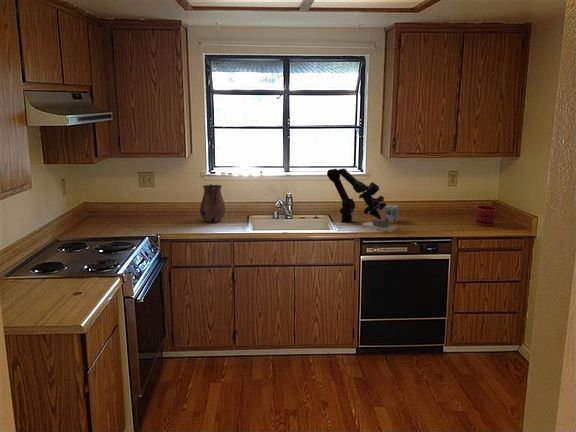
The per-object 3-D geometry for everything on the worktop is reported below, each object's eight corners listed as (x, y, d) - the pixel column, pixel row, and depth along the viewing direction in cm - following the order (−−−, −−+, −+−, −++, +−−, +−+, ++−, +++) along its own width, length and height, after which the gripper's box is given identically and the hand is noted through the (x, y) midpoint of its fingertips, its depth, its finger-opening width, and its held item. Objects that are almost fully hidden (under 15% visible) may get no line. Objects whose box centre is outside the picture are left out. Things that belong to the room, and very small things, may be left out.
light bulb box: (392, 223, 338) (392, 208, 336) (383, 222, 342) (383, 206, 340) (398, 220, 347) (399, 205, 344) (389, 219, 351) (390, 204, 348)
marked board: (361, 226, 331) (362, 224, 331) (368, 224, 337) (369, 221, 336) (390, 231, 316) (390, 229, 316) (397, 229, 322) (397, 227, 322)
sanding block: (372, 225, 326) (373, 210, 324) (378, 223, 330) (378, 208, 328) (384, 227, 320) (384, 211, 318) (389, 225, 324) (390, 210, 322)
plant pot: (472, 225, 333) (474, 207, 330) (477, 221, 343) (478, 204, 341) (493, 228, 326) (494, 210, 323) (497, 224, 336) (499, 206, 333)
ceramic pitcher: (221, 217, 359) (219, 182, 354) (230, 223, 341) (229, 187, 335) (197, 219, 352) (195, 184, 346) (205, 225, 333) (204, 189, 328)
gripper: (368, 194, 317) (382, 213, 312) (384, 190, 330) (398, 208, 325) (357, 204, 324) (371, 223, 319) (374, 200, 337) (387, 218, 332)
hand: (382, 218), depth 324 cm, fingers closed on sanding block, 4 cm apart
